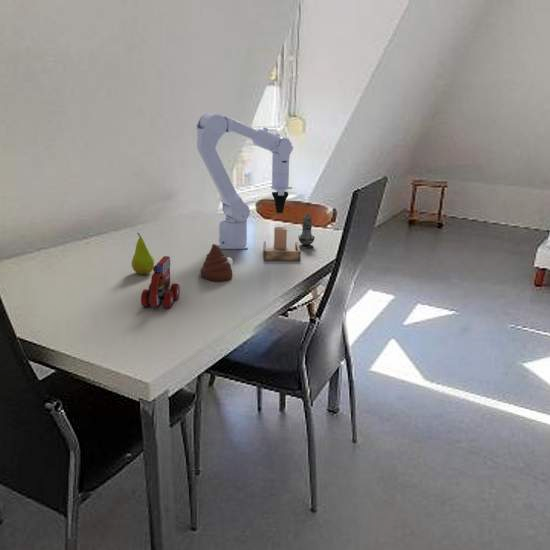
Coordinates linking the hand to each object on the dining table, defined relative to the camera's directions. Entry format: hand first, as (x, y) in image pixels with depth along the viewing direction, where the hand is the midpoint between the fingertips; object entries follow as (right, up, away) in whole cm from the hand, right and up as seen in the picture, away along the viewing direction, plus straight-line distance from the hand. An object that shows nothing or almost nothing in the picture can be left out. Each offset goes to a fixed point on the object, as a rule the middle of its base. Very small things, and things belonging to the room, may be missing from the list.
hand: (279, 212), depth 172 cm
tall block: (0, -13, -5) cm, 14 cm away
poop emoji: (-18, -23, -34) cm, 45 cm away
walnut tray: (0, -15, -13) cm, 20 cm away
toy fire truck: (-29, -29, -54) cm, 68 cm away
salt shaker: (+9, -12, -3) cm, 16 cm away
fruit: (-39, -22, -33) cm, 56 cm away
